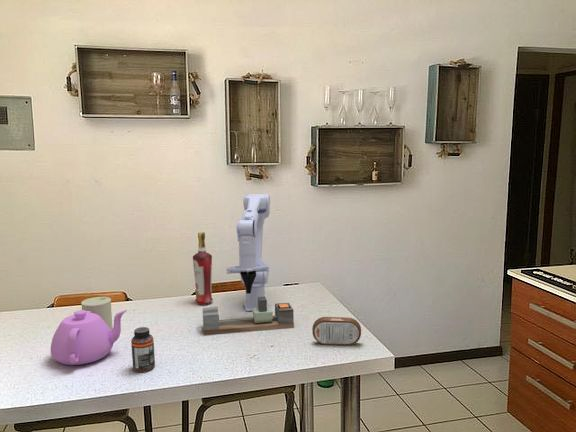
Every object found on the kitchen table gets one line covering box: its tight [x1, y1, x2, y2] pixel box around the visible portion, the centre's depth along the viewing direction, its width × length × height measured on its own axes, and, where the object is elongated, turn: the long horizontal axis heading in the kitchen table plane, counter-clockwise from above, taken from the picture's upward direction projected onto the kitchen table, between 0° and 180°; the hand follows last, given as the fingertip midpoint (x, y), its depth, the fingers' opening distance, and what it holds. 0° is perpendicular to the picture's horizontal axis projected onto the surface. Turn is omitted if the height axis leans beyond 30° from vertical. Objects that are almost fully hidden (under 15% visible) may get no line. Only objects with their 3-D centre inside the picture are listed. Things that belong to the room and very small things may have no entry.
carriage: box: [252, 296, 274, 323], centre depth 167 cm, size 6×6×8 cm
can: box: [80, 296, 114, 331], centre depth 161 cm, size 9×9×12 cm
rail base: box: [202, 302, 295, 336], centre depth 167 cm, size 9×30×6 cm, turn 101°
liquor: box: [192, 231, 214, 306], centre depth 190 cm, size 7×7×28 cm
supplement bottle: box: [130, 326, 156, 373], centre depth 136 cm, size 6×6×11 cm
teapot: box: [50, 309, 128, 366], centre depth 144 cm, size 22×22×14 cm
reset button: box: [279, 304, 289, 309], centre depth 169 cm, size 3×3×4 cm
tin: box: [311, 316, 362, 346], centre depth 151 cm, size 15×3×8 cm, turn 84°
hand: (248, 292), depth 170 cm, fingers closed
